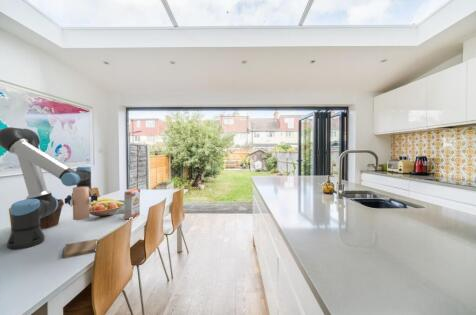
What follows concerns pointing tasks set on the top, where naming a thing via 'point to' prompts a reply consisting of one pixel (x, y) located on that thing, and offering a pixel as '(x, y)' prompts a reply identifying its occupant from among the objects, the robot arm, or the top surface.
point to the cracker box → (131, 203)
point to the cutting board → (79, 248)
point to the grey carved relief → (120, 211)
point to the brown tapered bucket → (52, 217)
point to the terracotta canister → (80, 203)
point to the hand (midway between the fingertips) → (80, 202)
